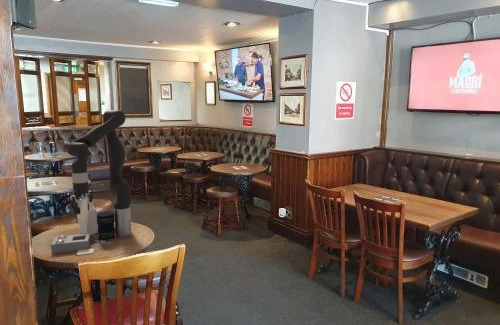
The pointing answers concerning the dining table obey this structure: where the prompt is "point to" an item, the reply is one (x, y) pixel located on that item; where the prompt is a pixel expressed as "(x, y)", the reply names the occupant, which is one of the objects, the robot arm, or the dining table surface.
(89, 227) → the milk carton
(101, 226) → the storage jar
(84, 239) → the housing
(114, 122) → the robot arm
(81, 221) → the tumbler with domed lid
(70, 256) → the dining table surface
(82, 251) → the coaster
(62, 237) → the plunger
